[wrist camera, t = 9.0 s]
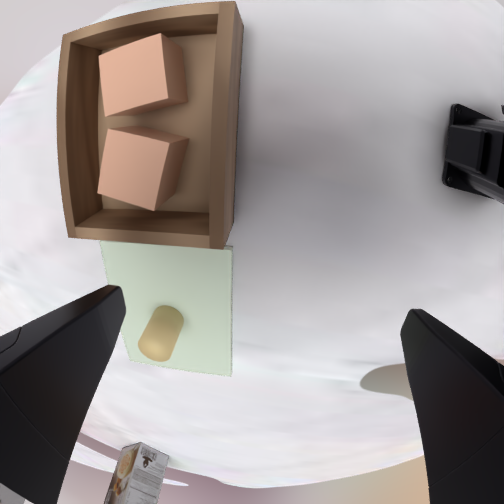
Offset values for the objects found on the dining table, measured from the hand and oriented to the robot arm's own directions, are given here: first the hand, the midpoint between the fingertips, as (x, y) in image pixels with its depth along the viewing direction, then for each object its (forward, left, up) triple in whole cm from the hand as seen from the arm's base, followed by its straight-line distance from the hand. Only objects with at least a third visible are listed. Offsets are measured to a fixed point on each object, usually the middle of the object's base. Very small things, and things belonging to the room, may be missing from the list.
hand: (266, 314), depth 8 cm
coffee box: (+19, +48, -13) cm, 53 cm away
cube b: (+8, -3, -12) cm, 15 cm away
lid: (+8, +11, -13) cm, 19 cm away
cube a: (+8, -8, -12) cm, 16 cm away
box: (+8, -5, -12) cm, 16 cm away
